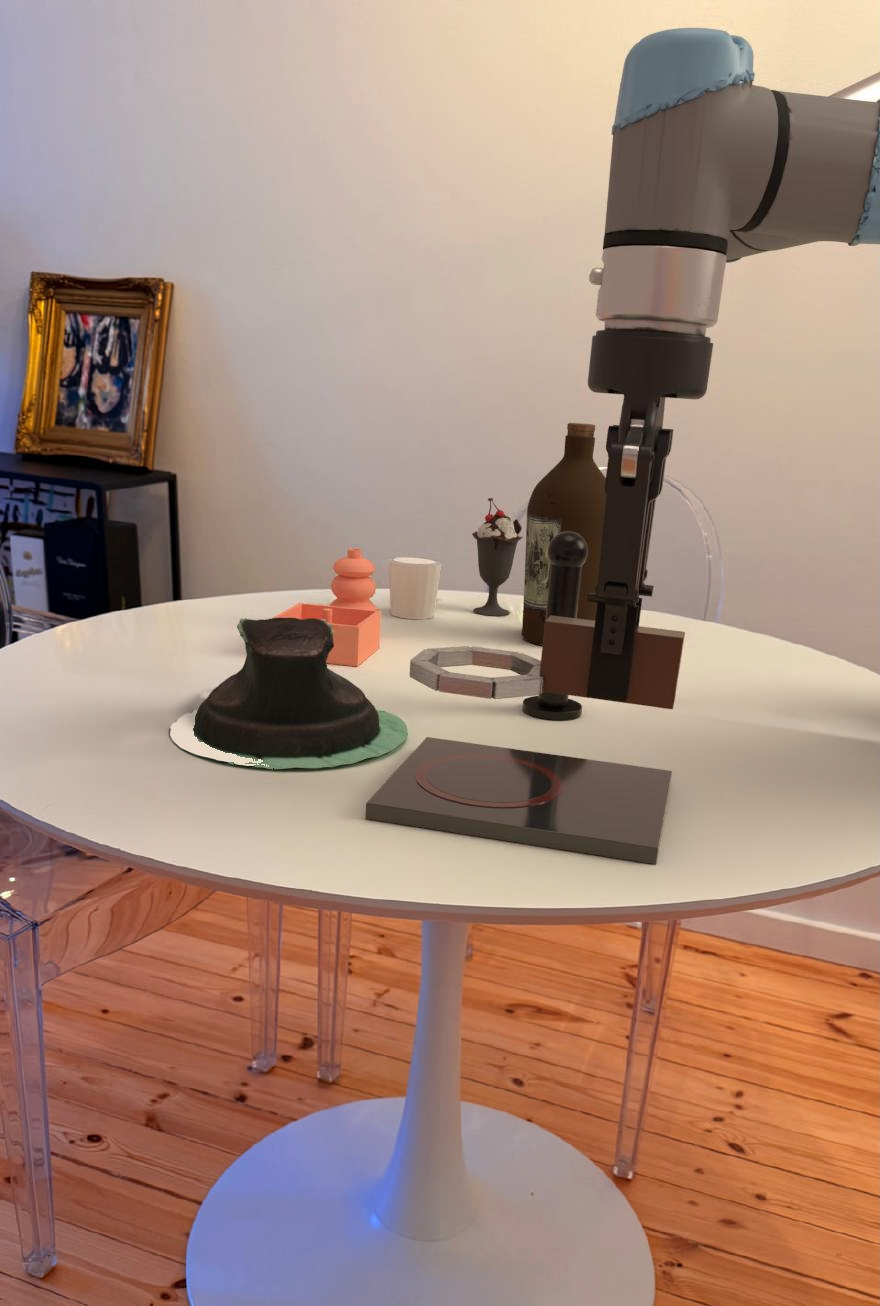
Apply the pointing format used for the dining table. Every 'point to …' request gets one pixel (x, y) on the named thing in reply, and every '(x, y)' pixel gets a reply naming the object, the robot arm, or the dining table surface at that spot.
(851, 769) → the dining table surface
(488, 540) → the sundae
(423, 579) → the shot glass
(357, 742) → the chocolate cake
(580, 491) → the olive oil
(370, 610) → the pottery
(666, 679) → the ring with block handle
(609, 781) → the stove
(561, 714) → the black knobbed post
